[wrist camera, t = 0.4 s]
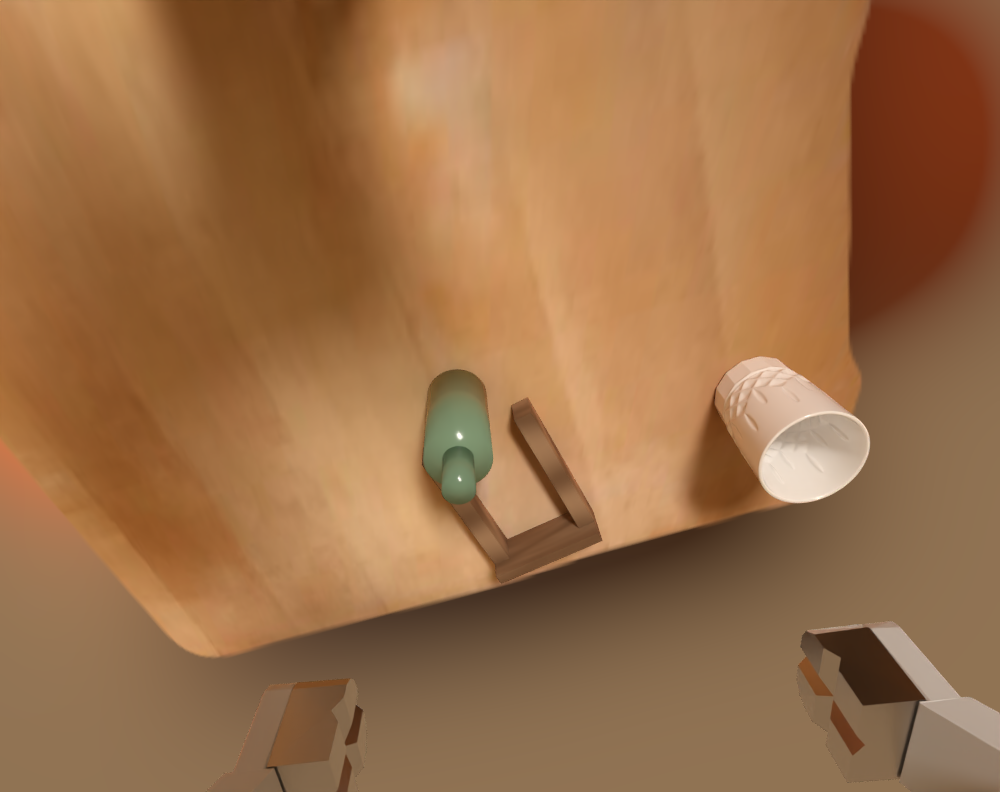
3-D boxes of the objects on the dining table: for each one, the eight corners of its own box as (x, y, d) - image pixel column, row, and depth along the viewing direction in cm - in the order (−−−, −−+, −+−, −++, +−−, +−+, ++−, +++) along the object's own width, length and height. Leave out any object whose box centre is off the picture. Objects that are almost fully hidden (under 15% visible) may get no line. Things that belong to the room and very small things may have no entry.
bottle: (416, 385, 49) (406, 480, 38) (468, 359, 48) (473, 448, 37) (446, 429, 51) (444, 530, 40) (496, 405, 50) (509, 501, 39)
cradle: (423, 447, 52) (421, 475, 48) (527, 397, 50) (533, 422, 47) (498, 552, 58) (501, 583, 55) (593, 510, 57) (602, 540, 53)
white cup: (796, 337, 49) (870, 397, 40) (801, 415, 53) (869, 486, 44) (701, 365, 50) (754, 430, 41) (712, 440, 54) (763, 515, 45)
